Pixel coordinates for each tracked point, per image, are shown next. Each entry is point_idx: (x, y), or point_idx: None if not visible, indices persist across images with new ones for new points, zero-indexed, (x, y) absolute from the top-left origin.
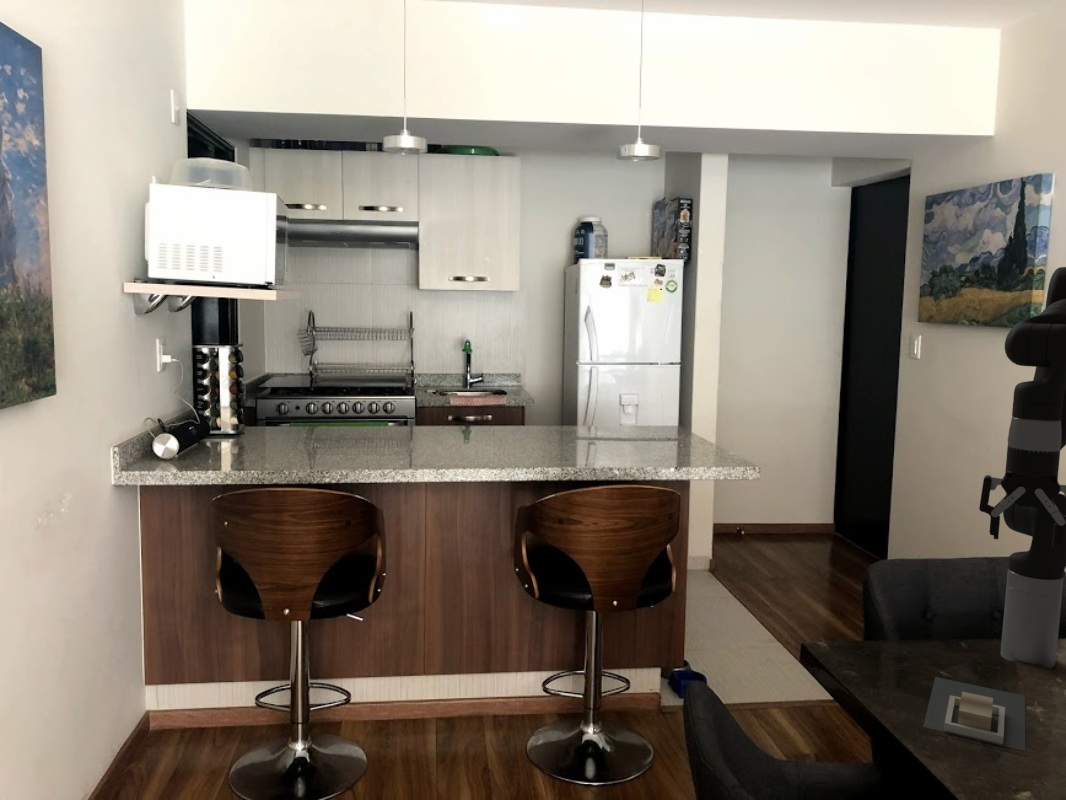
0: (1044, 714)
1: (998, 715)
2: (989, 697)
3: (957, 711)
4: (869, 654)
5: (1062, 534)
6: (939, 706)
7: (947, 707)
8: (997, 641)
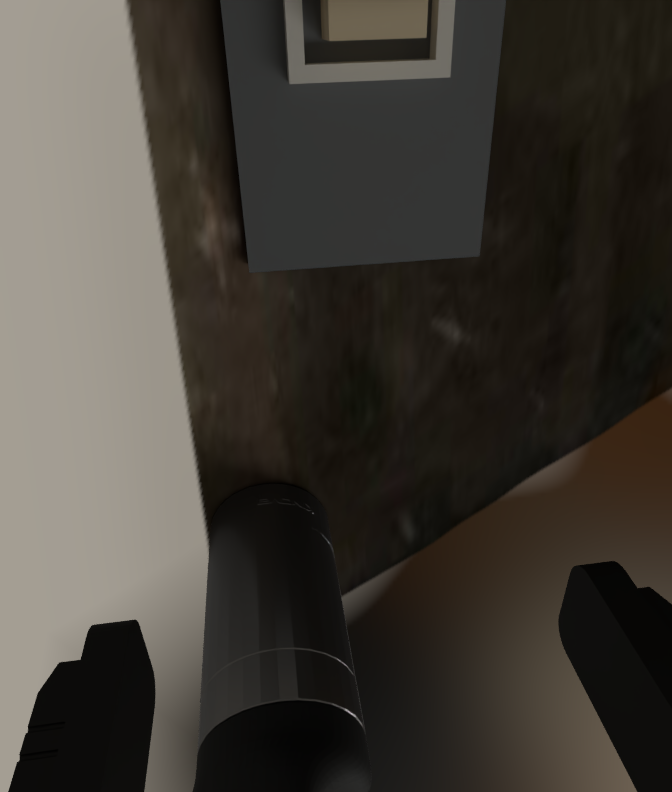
0: (190, 206)
1: None
2: (340, 39)
3: None
4: (629, 337)
5: (28, 773)
6: (472, 12)
7: None
8: None
